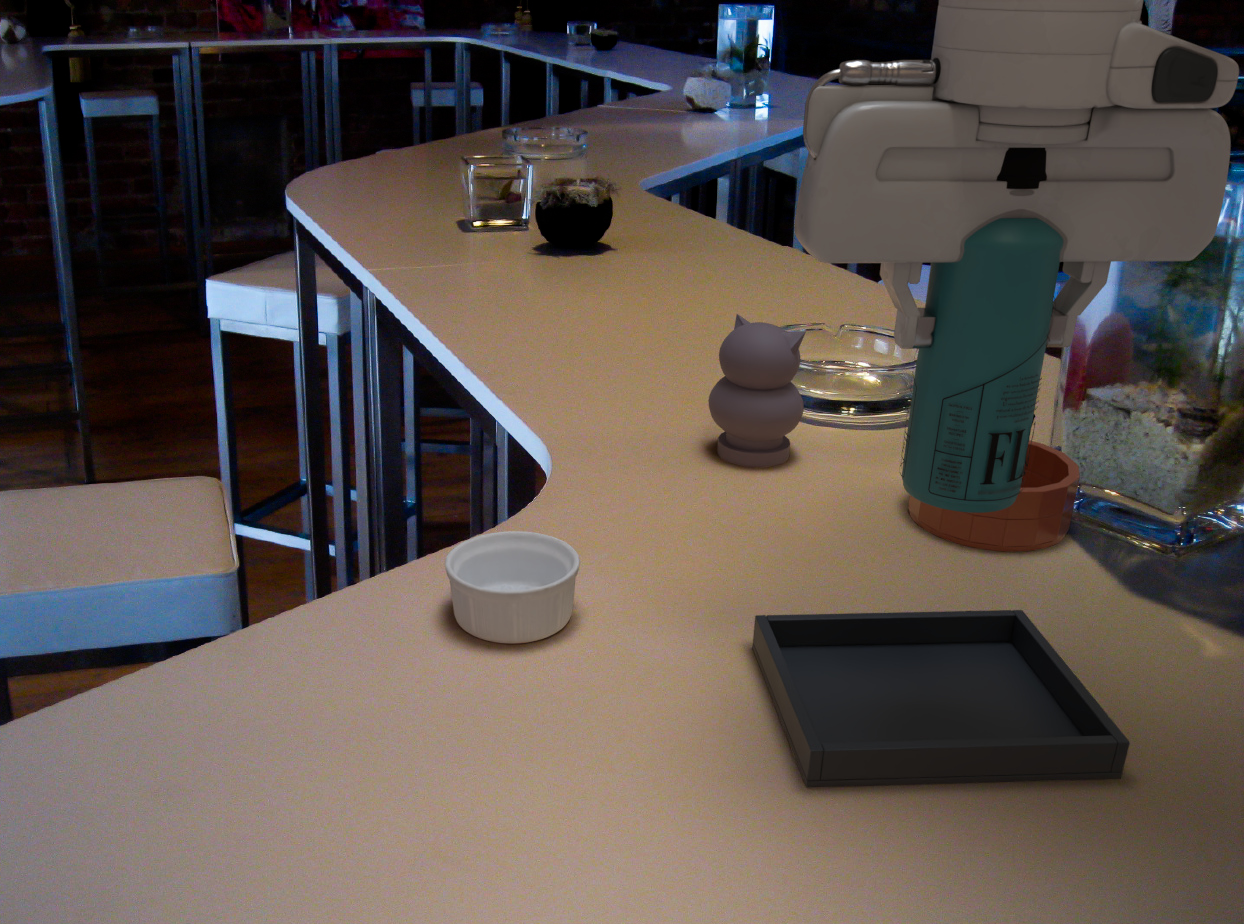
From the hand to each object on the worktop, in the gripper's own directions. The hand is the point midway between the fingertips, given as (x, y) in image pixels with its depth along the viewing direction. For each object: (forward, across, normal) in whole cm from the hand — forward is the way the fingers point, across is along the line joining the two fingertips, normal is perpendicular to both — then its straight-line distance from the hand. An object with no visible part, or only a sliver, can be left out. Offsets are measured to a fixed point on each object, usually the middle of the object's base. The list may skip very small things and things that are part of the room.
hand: (981, 345), depth 63 cm
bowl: (+22, +14, +26) cm, 37 cm away
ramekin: (+23, -24, +12) cm, 35 cm away
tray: (+22, 0, 0) cm, 22 cm away
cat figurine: (+23, -2, +40) cm, 46 cm away
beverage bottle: (+10, 0, 0) cm, 10 cm away
